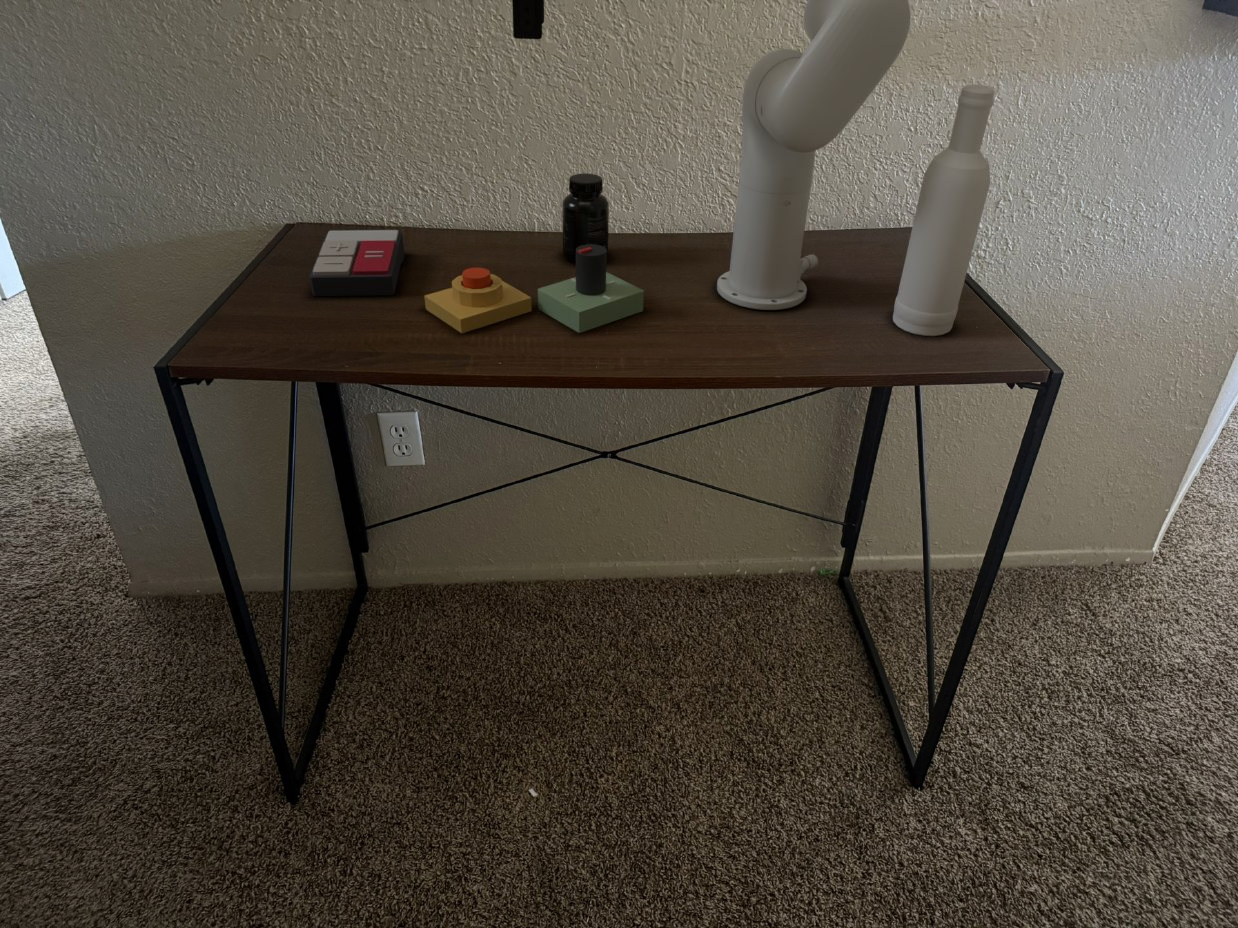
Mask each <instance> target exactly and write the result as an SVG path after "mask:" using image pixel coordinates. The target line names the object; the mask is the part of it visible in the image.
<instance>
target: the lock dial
mask: <svg viewBox="0 0 1238 928" xmlns="http://www.w3.org/2000/svg"><path fill="white" fill-rule="evenodd" d="M606 257H607V258H608V256H607V250H606V248H605V247H603V246H600V245H595V244H587V245H581V246H579V247H577V248H576V264H575V277H576V291H577V292H579V293H581V294H584V295H599V294H602V293H604V292H605V290H606V272H607V258H606Z"/></svg>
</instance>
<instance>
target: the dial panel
mask: <svg viewBox="0 0 1238 928" xmlns="http://www.w3.org/2000/svg"><path fill="white" fill-rule="evenodd" d="M644 295H645V290H643V289H642V288H640V287H638V286H636V285H634V284H631V283H630V282H628V281H626V280H623V279H621V278H620V277H617V276H615V275H613V274H611V273H610V272H608V271H606V290H605V292H604V293H602V294H599V295H584V294H581V293H579V292H577V291H576V276H575V277H571V278H569V279H565V280H562V281H559V282H555V283H552V284H549V285H545V286H542V287H539V288H537V309H538V311H540V312H542V313H543V314H546V315H548V316H549V317H551V319H555V321H558V322H559V323H561V324H563V325H564V326H566V327H568V328H569V329H571V330H573V331H575V332H576V333H578V334H581V333H584V332H587V331H591V330H592V329H596V328H599V327H601V326H604V325H608V324H610V323H612V322H615V321H618V320H622V319H624V318H627V317H630V316H633V315H636V314H639V313H641V312H644V298H645V296H644Z"/></svg>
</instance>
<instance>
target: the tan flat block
mask: <svg viewBox="0 0 1238 928" xmlns="http://www.w3.org/2000/svg"><path fill="white" fill-rule="evenodd" d="M490 278H491V286H490V287H486V288H483V289H470V288H465V287H464V286H463V275H462V274H461V275H458V276H457V277H455V278H454V279H453V280H451V287H450V288H446V289H442V290H439V291H435V292H432V293H429V294H425V295H424V296H423V297H424V305H425V310H426V311H427V312H429V313H431V314H432V315H433V316H435V317H436V318H438V319H439V320H441V321H442V322H444V323H446V324H447V326H448V325H449V326H450V327H451V328H453V329H454V330H456V331H457V332H459V333H460V334H465V333H467V332H471V331H474V330H477V329H481V328H483V327H487V326H489V325H492V324H493V325H494V324H496V323H499V322H502V321H505V320H509V319H512V318H515V317H518V316H521V315H524V314H527V313H530V312H532V311H533V310H532V309H533V307H532V304H533V303H532V297H531V296H530V295H528V294H526V293H524V292H522V291H521V290H519V289H517V288H516V287H514V286H512V285H511V284H509V283H507V282H505V281H504V280H502V278H501V277H499V276H497V275H496V274H493V273H490Z"/></svg>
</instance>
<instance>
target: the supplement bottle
mask: <svg viewBox="0 0 1238 928" xmlns="http://www.w3.org/2000/svg"><path fill="white" fill-rule="evenodd" d="M568 192H569V193H568V194H567V195H566V196H565V197H564V199H563V201H562V211H561V212H562V255H563V259H565V260H566V261H567V262H569V263H571V264H574V265H576V248H577V247H579V246H581V245H587V244H595V245H600V246H603V247H605V248H606V250H607V257H606V259H608V255H609V228H610V227H609V224H610V223H609V222H610V203H609V200H608V198H607V197H606V196H605V195H603V194H602V193H603V192H604V188H603V177H602V176H600V175H598V174H595V173H585V172H584V173H576V174H572V175H570V177H569V178H568Z"/></svg>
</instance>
